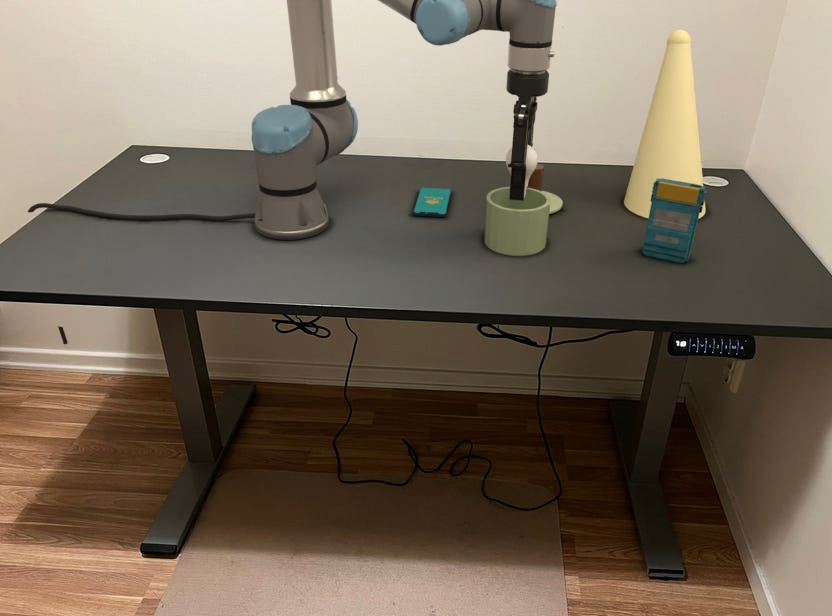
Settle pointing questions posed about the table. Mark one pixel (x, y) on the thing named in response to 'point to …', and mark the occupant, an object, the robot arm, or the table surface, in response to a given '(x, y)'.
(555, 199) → the canister lid
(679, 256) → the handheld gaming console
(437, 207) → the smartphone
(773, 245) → the table surface
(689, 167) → the cone light
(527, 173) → the lightbulb
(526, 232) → the canister
